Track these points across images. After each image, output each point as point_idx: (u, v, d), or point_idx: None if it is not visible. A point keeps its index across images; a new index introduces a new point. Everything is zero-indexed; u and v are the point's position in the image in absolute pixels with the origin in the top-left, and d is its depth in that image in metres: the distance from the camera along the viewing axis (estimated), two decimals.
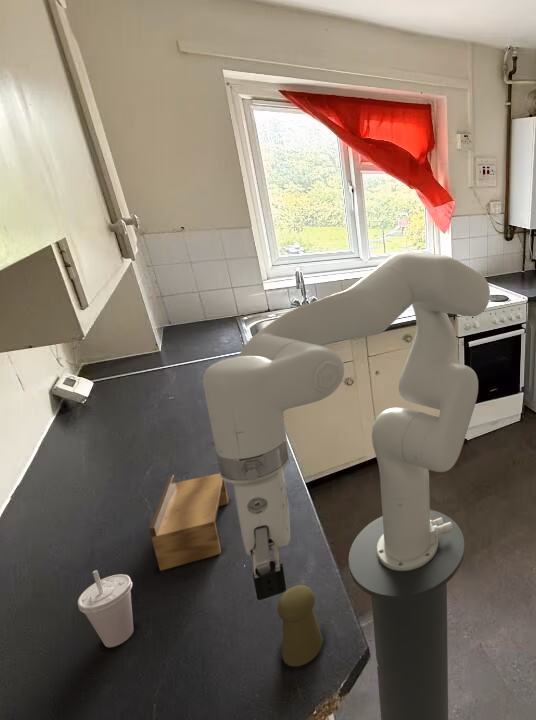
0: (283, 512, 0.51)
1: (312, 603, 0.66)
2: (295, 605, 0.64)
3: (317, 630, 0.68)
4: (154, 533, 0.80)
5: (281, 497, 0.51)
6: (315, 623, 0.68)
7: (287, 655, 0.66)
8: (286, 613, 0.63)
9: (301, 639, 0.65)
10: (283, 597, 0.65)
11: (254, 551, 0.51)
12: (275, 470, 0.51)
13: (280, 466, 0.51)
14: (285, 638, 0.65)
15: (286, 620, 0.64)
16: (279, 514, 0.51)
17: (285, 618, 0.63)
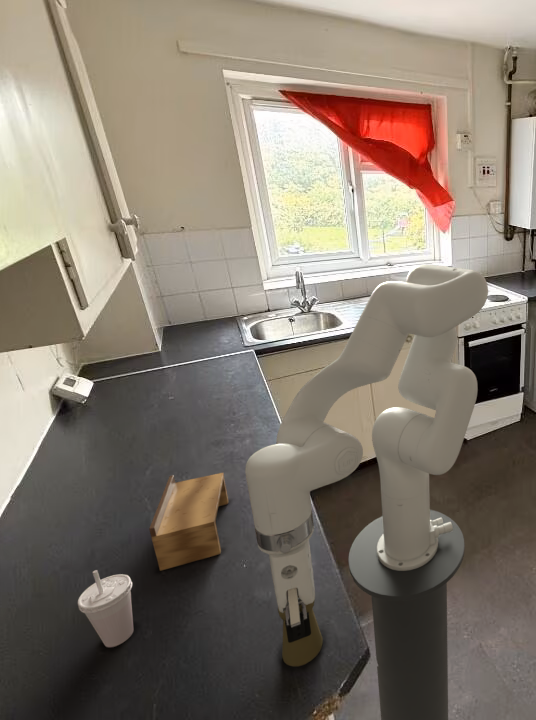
0: (310, 575, 0.61)
1: (312, 603, 0.66)
2: None
3: (317, 630, 0.68)
4: (154, 533, 0.80)
5: (308, 563, 0.60)
6: (315, 623, 0.68)
7: (287, 655, 0.66)
8: None
9: (301, 639, 0.65)
10: None
11: (286, 607, 0.61)
12: (303, 540, 0.60)
13: (307, 536, 0.61)
14: (285, 638, 0.65)
15: None
16: (307, 577, 0.60)
17: (285, 618, 0.63)
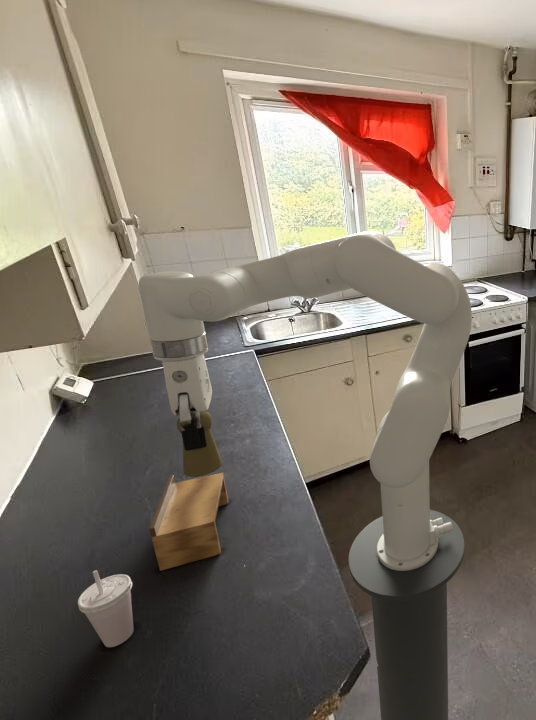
0: (200, 385, 0.71)
1: (208, 422, 0.76)
2: None
3: (215, 451, 0.78)
4: (154, 533, 0.80)
5: (198, 374, 0.70)
6: (213, 444, 0.77)
7: (186, 467, 0.75)
8: None
9: (198, 452, 0.75)
10: None
11: None
12: (194, 354, 0.70)
13: (198, 352, 0.71)
14: (184, 451, 0.75)
15: None
16: (197, 385, 0.70)
17: None
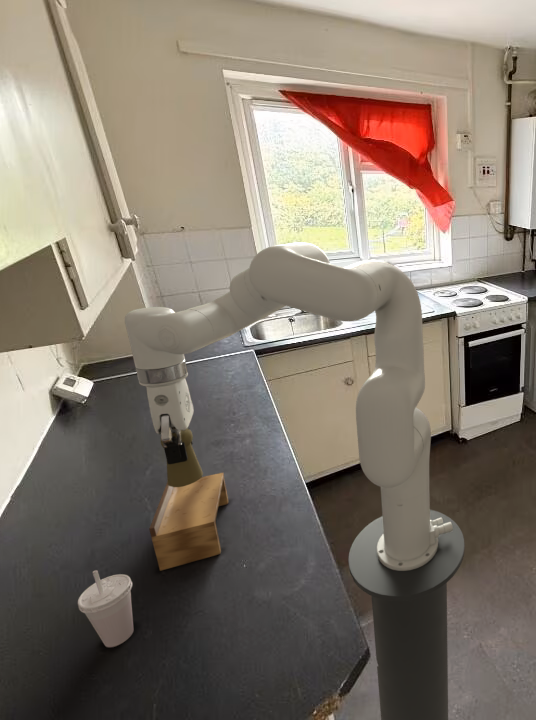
0: (180, 407, 0.80)
1: (189, 438, 0.85)
2: None
3: (196, 463, 0.87)
4: (154, 533, 0.80)
5: (178, 397, 0.80)
6: (194, 457, 0.87)
7: (169, 478, 0.85)
8: None
9: (180, 465, 0.84)
10: None
11: None
12: (174, 379, 0.80)
13: (178, 378, 0.80)
14: (167, 464, 0.85)
15: None
16: (176, 407, 0.79)
17: None
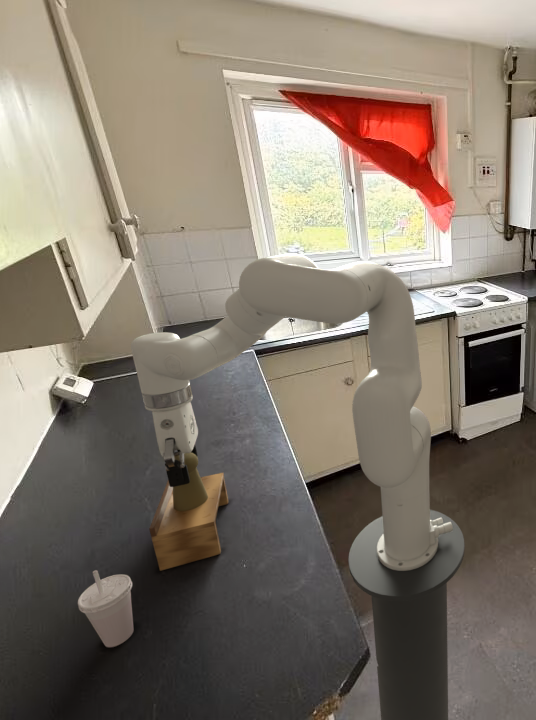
0: (185, 430, 0.81)
1: (194, 463, 0.87)
2: (179, 461, 0.85)
3: (201, 487, 0.89)
4: (154, 533, 0.80)
5: (183, 421, 0.81)
6: (199, 481, 0.88)
7: (175, 502, 0.87)
8: None
9: (185, 490, 0.86)
10: None
11: None
12: (179, 404, 0.81)
13: (183, 402, 0.82)
14: (173, 489, 0.86)
15: None
16: (182, 431, 0.81)
17: None
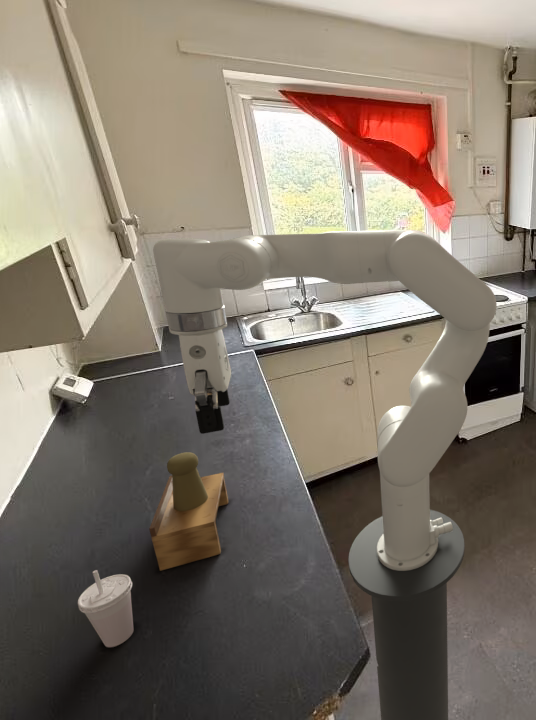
0: (219, 362, 0.65)
1: (194, 463, 0.87)
2: (179, 461, 0.85)
3: (201, 487, 0.89)
4: (154, 533, 0.80)
5: (217, 349, 0.65)
6: (199, 481, 0.88)
7: (175, 502, 0.87)
8: (171, 467, 0.84)
9: (185, 490, 0.86)
10: (171, 458, 0.86)
11: None
12: (213, 328, 0.65)
13: (217, 326, 0.65)
14: (173, 489, 0.86)
15: (172, 472, 0.84)
16: (216, 362, 0.64)
17: (171, 471, 0.84)
